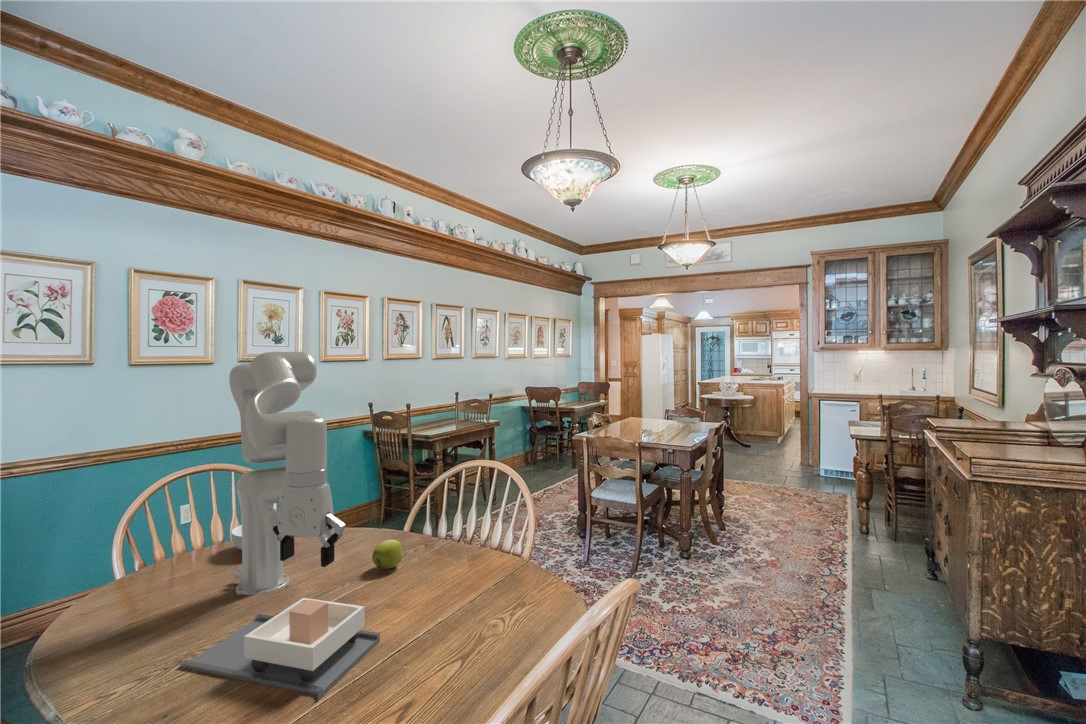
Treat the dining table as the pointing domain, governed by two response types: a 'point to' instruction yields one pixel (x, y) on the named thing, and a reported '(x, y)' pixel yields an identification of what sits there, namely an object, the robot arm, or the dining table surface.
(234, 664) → the track
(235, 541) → the cereal bowl
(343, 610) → the cart
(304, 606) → the block
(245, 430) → the robot arm
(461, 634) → the dining table surface
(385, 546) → the apple
